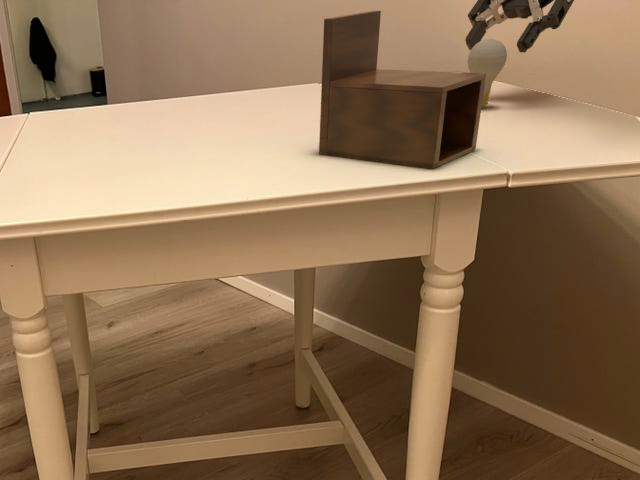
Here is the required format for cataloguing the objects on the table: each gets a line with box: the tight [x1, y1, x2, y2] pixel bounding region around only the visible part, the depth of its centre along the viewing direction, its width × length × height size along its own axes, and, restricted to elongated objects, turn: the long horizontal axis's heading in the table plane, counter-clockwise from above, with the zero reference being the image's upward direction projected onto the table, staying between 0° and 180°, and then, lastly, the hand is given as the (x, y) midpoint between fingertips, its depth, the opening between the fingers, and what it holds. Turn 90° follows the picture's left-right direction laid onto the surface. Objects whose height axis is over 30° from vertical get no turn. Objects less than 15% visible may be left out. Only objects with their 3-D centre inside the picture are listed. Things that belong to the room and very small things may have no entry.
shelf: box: [318, 10, 486, 170], centre depth 87 cm, size 16×11×16 cm
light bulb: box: [467, 38, 508, 109], centre depth 109 cm, size 6×6×10 cm
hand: (494, 47), depth 108 cm, fingers open, 8 cm apart
